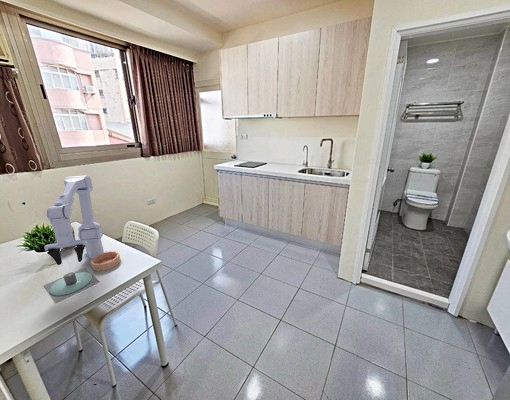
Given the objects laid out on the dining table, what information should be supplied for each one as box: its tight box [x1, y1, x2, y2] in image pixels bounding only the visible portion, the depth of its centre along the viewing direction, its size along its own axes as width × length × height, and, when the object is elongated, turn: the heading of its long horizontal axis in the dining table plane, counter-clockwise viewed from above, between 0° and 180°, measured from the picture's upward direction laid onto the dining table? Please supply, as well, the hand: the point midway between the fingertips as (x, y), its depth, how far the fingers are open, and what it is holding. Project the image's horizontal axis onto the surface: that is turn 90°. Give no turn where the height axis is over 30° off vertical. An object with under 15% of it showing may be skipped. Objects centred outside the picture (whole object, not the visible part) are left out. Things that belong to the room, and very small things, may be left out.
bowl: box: [90, 250, 121, 272], centre depth 115 cm, size 12×12×4 cm
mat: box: [43, 267, 101, 304], centre depth 101 cm, size 18×16×1 cm
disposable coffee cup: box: [62, 224, 76, 250], centre depth 131 cm, size 10×10×12 cm
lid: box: [50, 271, 93, 296], centre depth 100 cm, size 15×15×5 cm
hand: (70, 262), depth 98 cm, fingers open, 7 cm apart
